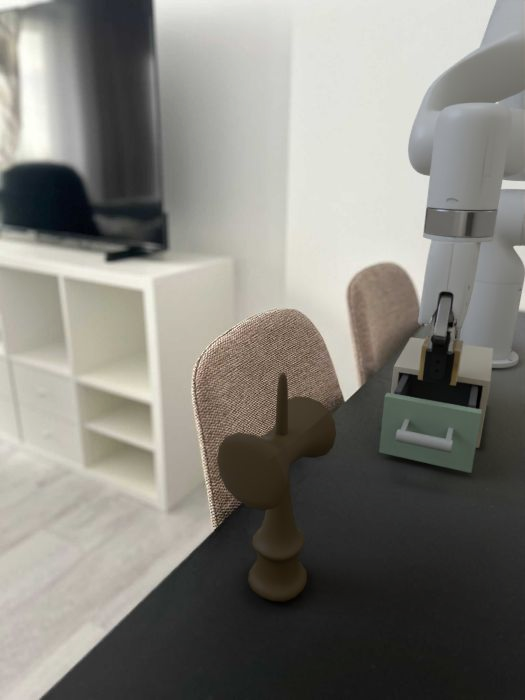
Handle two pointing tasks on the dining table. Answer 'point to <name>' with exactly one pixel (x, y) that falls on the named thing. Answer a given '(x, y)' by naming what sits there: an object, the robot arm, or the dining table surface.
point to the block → (456, 365)
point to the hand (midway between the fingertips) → (438, 373)
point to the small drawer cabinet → (471, 370)
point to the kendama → (276, 487)
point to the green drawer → (431, 423)
